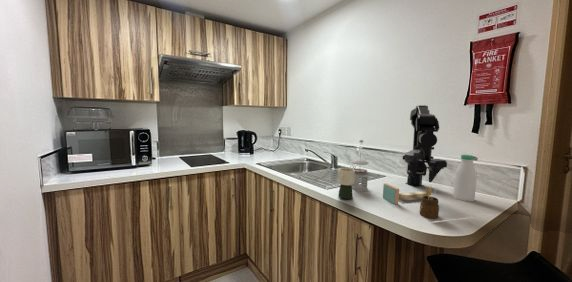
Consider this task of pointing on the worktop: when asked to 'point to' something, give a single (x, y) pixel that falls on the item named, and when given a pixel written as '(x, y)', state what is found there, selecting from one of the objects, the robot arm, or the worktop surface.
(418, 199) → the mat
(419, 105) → the robot arm
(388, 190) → the tile
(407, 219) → the worktop surface
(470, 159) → the milk bottle
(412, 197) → the stick
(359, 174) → the french press
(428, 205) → the utensil holder
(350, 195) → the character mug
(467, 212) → the worktop surface
